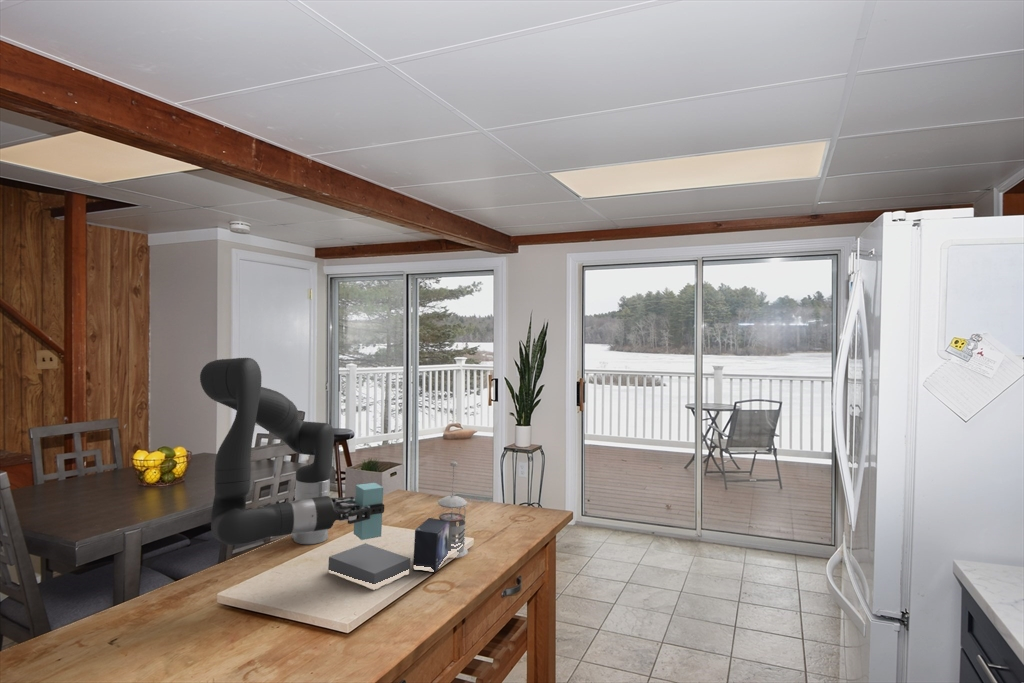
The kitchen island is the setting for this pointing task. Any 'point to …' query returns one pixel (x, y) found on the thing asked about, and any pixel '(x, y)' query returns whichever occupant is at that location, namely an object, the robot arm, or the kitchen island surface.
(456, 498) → the french press
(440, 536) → the small box
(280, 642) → the kitchen island surface
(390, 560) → the grey flat block
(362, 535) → the teal block
